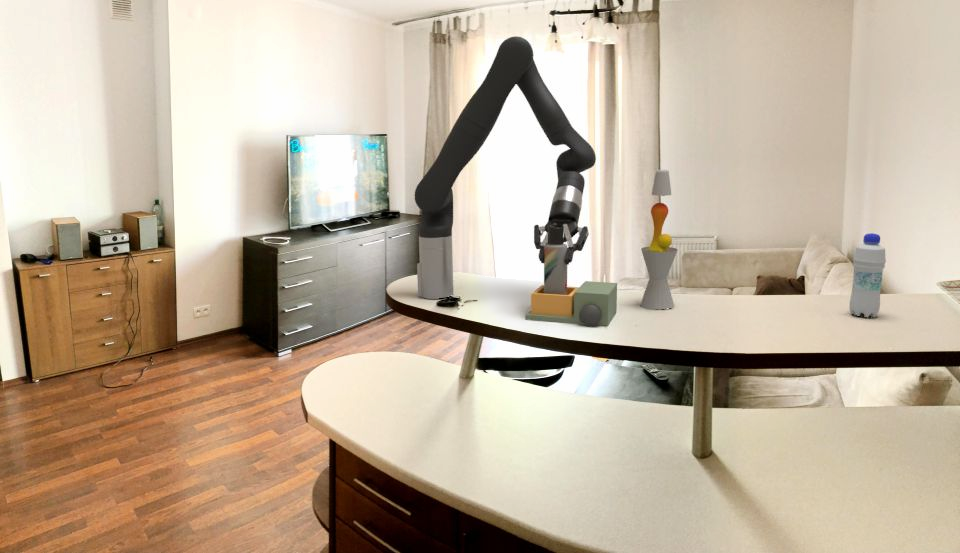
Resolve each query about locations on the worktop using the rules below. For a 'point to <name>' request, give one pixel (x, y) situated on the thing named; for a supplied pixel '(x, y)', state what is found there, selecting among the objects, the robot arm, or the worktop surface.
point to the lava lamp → (659, 251)
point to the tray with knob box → (576, 304)
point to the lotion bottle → (555, 262)
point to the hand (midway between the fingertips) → (554, 261)
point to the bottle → (867, 276)
